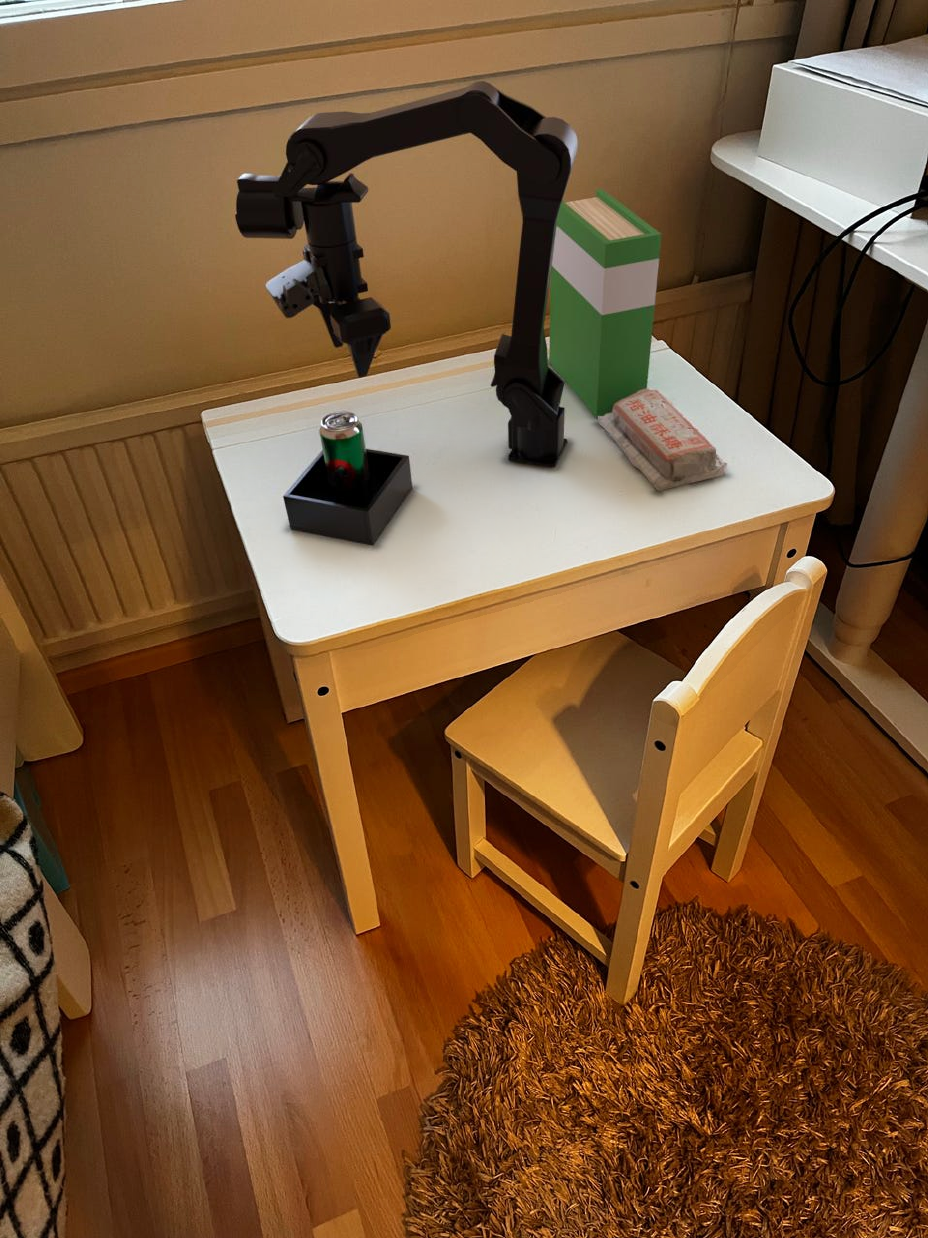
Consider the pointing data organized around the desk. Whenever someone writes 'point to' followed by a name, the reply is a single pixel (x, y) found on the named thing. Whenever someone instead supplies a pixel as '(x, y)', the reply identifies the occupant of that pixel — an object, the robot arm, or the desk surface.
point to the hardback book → (602, 300)
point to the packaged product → (661, 441)
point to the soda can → (346, 459)
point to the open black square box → (325, 518)
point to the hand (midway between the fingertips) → (350, 361)
